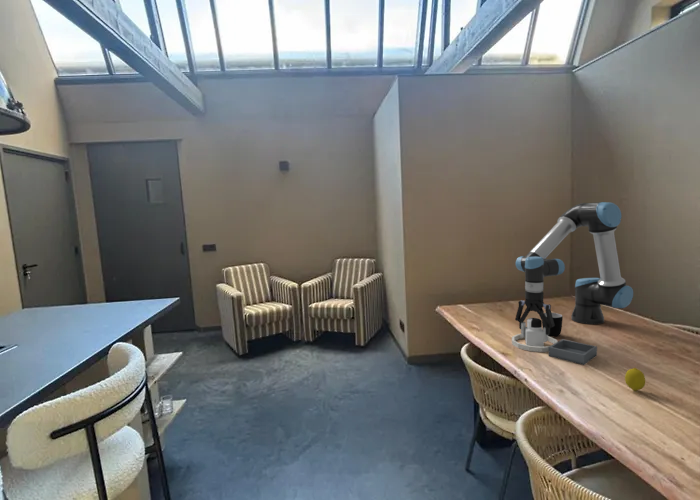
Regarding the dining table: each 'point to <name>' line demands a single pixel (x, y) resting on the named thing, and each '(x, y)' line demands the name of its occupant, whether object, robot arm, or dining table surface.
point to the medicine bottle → (534, 332)
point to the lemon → (635, 379)
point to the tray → (573, 351)
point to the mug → (557, 328)
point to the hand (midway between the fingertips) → (534, 338)
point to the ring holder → (531, 348)
